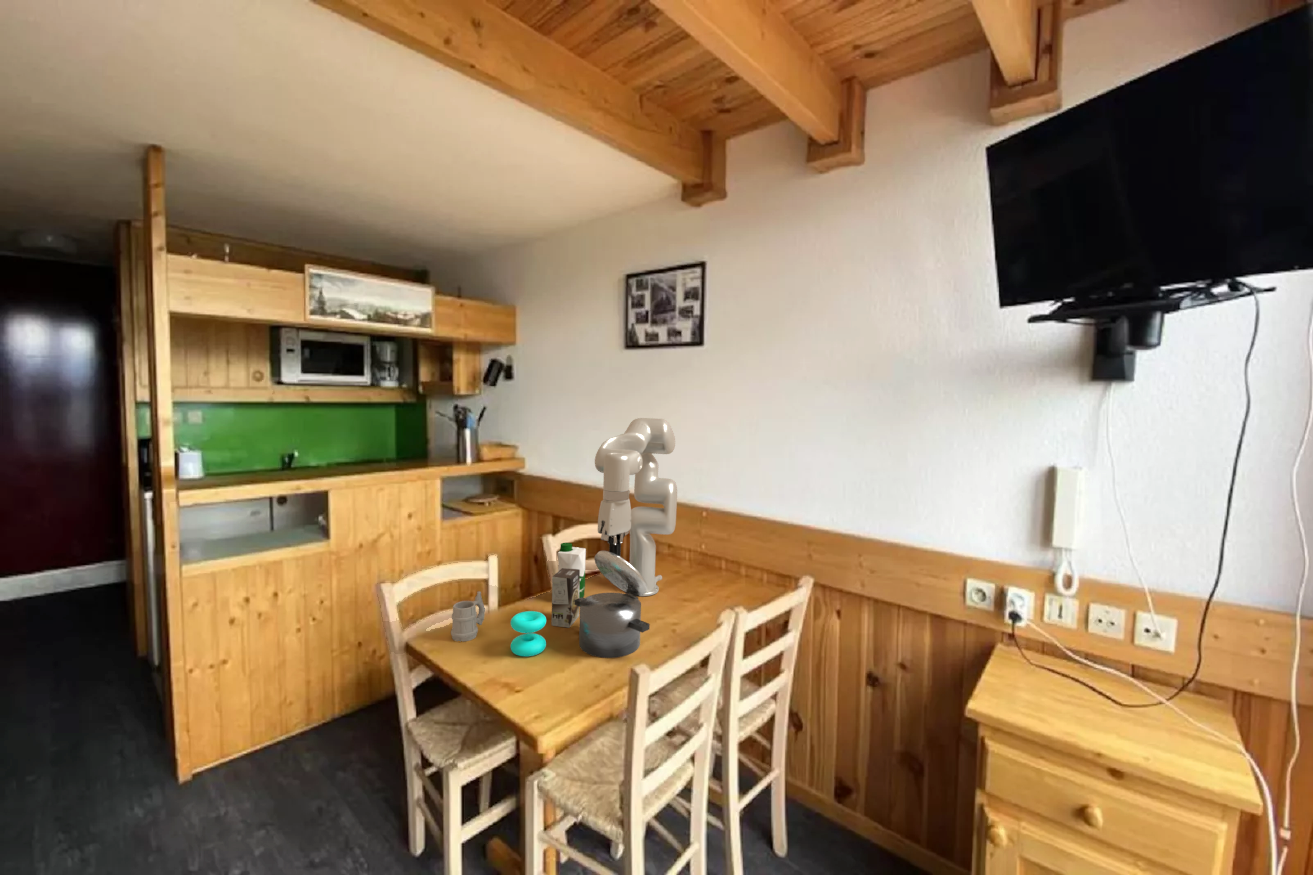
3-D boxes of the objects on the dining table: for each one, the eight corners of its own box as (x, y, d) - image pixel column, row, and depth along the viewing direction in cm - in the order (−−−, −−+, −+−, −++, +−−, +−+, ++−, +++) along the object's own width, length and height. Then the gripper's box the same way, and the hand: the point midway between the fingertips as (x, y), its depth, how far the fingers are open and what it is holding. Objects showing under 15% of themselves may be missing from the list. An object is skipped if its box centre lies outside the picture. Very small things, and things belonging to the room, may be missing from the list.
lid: (609, 586, 178) (614, 579, 179) (653, 602, 166) (658, 595, 168) (585, 548, 168) (590, 541, 170) (630, 562, 156) (635, 554, 158)
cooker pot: (599, 619, 183) (600, 583, 182) (666, 647, 165) (667, 608, 164) (555, 638, 169) (555, 599, 167) (623, 671, 151) (624, 628, 150)
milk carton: (563, 593, 203) (564, 540, 201) (587, 596, 202) (588, 542, 200) (554, 603, 195) (555, 547, 193) (579, 605, 193) (580, 549, 191)
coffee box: (570, 628, 176) (570, 578, 174) (550, 625, 177) (551, 576, 175) (579, 616, 185) (580, 569, 183) (561, 614, 186) (561, 567, 184)
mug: (445, 638, 166) (444, 599, 165) (475, 623, 177) (474, 587, 176) (463, 644, 163) (463, 605, 162) (493, 629, 173) (493, 591, 172)
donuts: (529, 627, 153) (503, 618, 158) (529, 662, 154) (502, 652, 159) (553, 614, 162) (528, 606, 167) (553, 647, 163) (527, 638, 168)
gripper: (624, 490, 171) (622, 548, 173) (588, 497, 160) (587, 559, 162) (642, 493, 166) (641, 553, 168) (607, 501, 155) (605, 565, 157)
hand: (614, 556), depth 165 cm, fingers closed
